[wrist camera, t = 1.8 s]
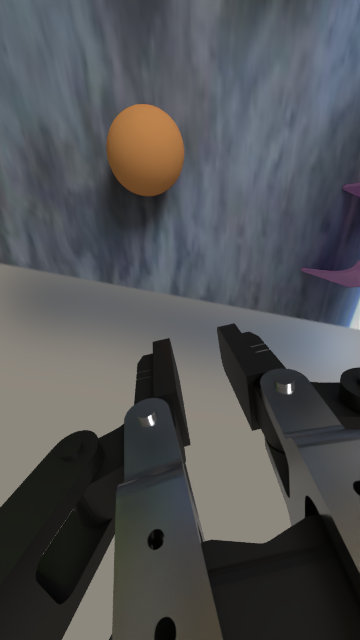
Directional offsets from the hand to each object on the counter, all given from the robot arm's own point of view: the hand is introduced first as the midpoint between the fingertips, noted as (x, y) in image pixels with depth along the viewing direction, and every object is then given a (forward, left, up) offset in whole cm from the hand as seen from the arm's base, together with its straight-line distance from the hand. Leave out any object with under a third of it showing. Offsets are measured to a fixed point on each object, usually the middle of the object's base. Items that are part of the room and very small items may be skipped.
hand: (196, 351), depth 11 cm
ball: (0, -10, -12) cm, 16 cm away
